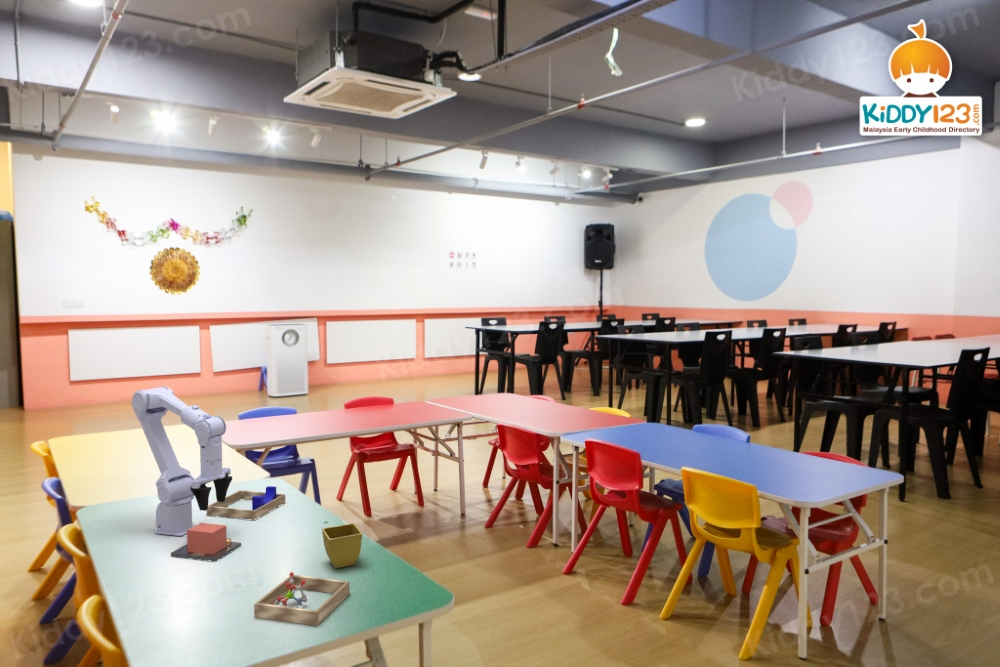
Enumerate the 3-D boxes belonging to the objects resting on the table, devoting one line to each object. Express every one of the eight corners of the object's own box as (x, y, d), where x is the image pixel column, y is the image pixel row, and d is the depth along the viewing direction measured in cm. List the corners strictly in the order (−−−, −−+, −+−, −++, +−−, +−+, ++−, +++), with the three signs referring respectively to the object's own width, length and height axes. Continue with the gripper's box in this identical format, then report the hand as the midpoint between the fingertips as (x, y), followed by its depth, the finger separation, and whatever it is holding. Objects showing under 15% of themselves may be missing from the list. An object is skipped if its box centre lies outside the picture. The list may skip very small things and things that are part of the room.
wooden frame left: (206, 515, 210) (206, 506, 209) (240, 498, 226) (240, 490, 226) (254, 520, 206) (254, 511, 205) (285, 503, 222) (285, 494, 222)
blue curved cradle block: (263, 503, 222) (263, 486, 222) (276, 503, 222) (276, 486, 222) (247, 515, 210) (247, 497, 210) (261, 516, 210) (261, 497, 210)
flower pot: (329, 573, 168) (329, 539, 168) (321, 560, 176) (321, 528, 175) (363, 566, 172) (362, 533, 172) (354, 554, 180) (354, 522, 180)
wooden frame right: (254, 617, 146) (254, 604, 146) (291, 586, 161) (291, 574, 161) (317, 625, 142) (317, 612, 142) (349, 593, 157) (349, 581, 157)
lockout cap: (187, 551, 178) (186, 530, 178) (201, 543, 184) (201, 522, 184) (212, 554, 177) (212, 532, 176) (226, 546, 182) (226, 525, 182)
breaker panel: (170, 556, 178) (170, 548, 178) (198, 541, 189) (198, 533, 188) (215, 561, 175) (215, 553, 175) (241, 546, 185) (241, 538, 185)
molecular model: (296, 597, 155) (296, 567, 155) (313, 609, 150) (312, 578, 149) (267, 607, 150) (266, 576, 150) (283, 620, 145) (282, 587, 144)
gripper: (206, 467, 181) (207, 515, 182) (239, 454, 195) (240, 499, 196) (184, 465, 182) (185, 513, 183) (218, 452, 196) (219, 497, 197)
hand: (212, 505), depth 190 cm, fingers open, 7 cm apart
